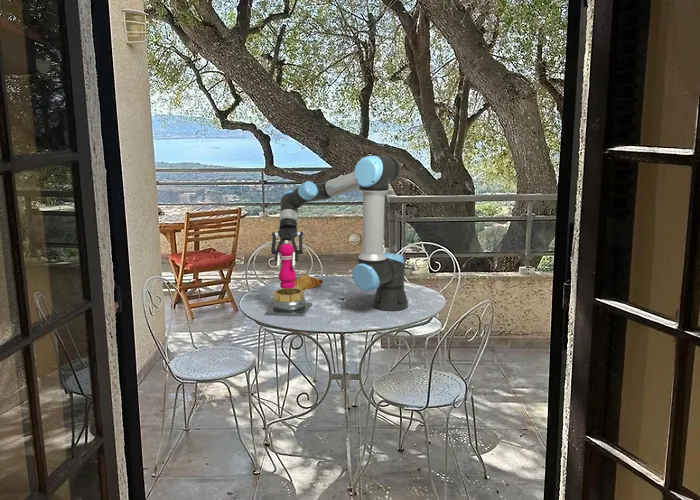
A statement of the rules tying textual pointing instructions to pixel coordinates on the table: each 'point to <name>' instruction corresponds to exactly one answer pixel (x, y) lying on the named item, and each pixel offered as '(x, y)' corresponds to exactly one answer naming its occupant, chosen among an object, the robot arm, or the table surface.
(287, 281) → the pepper mill
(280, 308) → the silver and gold bowl
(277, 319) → the table surface
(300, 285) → the croissant
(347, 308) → the table surface
